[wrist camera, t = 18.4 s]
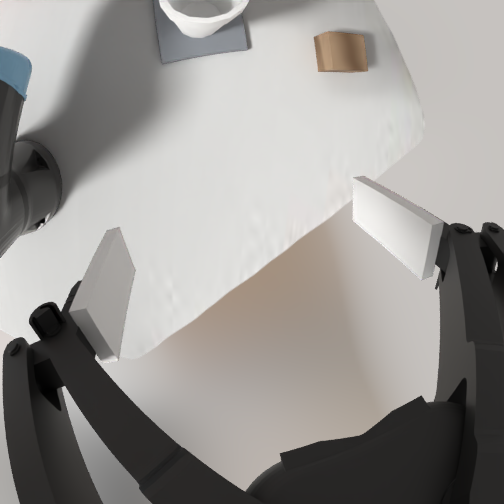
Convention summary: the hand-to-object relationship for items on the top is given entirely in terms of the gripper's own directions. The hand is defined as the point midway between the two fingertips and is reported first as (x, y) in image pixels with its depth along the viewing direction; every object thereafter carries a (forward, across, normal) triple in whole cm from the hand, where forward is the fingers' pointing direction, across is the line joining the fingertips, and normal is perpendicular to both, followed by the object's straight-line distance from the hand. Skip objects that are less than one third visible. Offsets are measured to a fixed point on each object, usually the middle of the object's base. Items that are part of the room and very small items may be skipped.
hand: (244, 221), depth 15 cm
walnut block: (+29, +22, +12) cm, 38 cm away
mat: (+29, +2, +20) cm, 35 cm away
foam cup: (+28, +2, +20) cm, 34 cm away
